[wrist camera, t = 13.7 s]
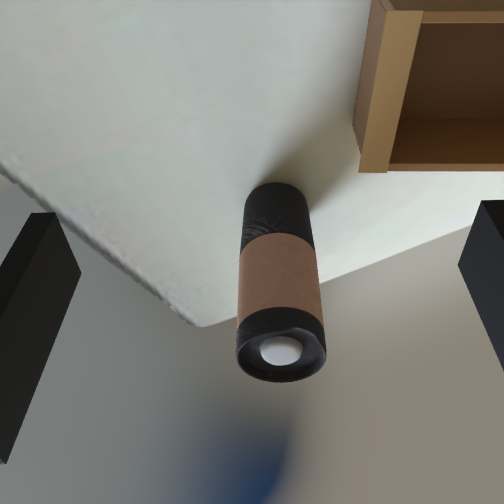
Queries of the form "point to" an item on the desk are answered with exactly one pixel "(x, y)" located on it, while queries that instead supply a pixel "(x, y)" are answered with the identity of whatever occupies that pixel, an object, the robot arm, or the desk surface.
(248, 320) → the travel mug
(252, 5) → the desk surface
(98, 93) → the desk surface
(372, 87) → the wooden box
